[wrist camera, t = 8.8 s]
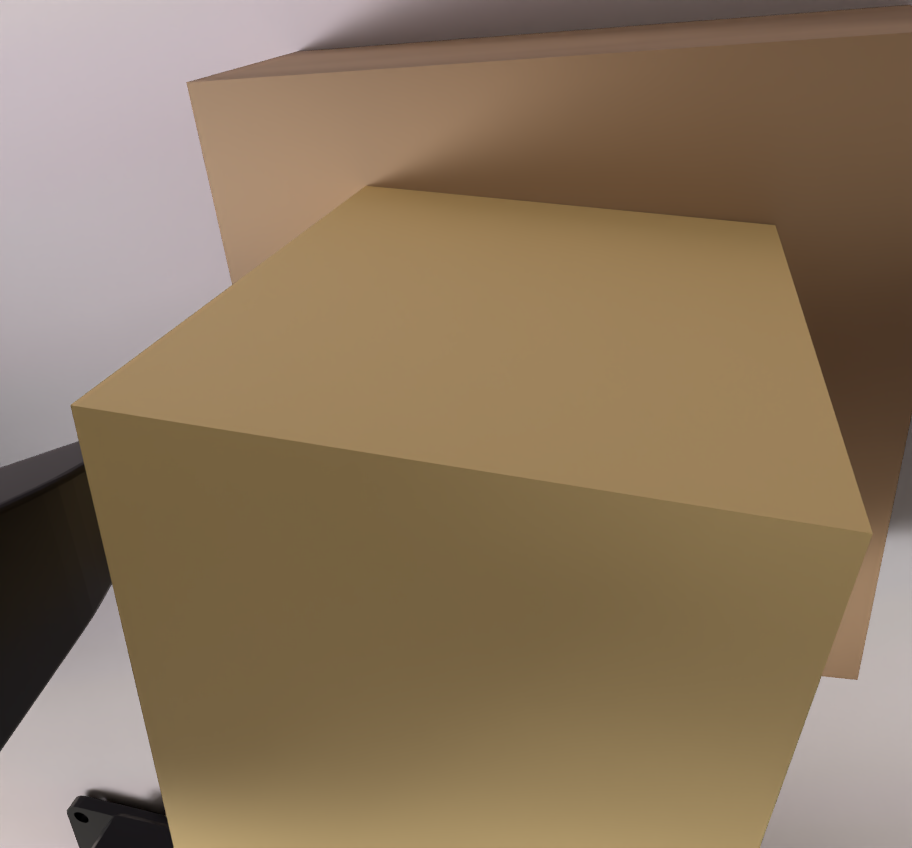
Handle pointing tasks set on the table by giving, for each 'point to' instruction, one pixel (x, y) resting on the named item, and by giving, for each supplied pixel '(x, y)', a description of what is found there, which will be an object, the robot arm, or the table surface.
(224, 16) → the table surface
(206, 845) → the ochre block
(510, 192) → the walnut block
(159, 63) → the table surface
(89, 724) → the table surface
